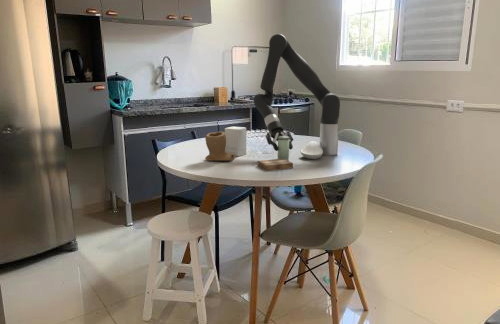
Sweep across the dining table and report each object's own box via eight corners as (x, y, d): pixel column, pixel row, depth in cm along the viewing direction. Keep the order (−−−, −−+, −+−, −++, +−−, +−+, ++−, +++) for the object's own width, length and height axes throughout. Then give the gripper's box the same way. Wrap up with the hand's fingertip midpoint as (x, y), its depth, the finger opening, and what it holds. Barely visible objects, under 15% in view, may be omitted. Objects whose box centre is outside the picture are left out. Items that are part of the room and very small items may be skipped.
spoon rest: (322, 161, 195) (322, 147, 194) (299, 160, 198) (299, 146, 196) (323, 151, 218) (324, 139, 216) (303, 151, 220) (303, 138, 219)
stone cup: (202, 163, 190) (201, 133, 186) (207, 157, 201) (207, 129, 198) (232, 164, 188) (232, 134, 185) (236, 158, 200) (235, 130, 196)
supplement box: (247, 153, 211) (247, 127, 208) (238, 156, 204) (238, 129, 200) (233, 152, 216) (233, 125, 212) (224, 155, 208) (224, 128, 205)
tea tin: (285, 158, 200) (286, 135, 197) (290, 160, 195) (291, 137, 192) (275, 159, 198) (275, 136, 195) (280, 161, 193) (281, 138, 190)
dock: (283, 163, 190) (283, 158, 189) (292, 167, 181) (293, 162, 181) (257, 165, 185) (257, 160, 184) (266, 170, 176) (266, 165, 175)
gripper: (264, 120, 195) (275, 146, 188) (287, 119, 202) (299, 144, 195) (259, 129, 201) (269, 154, 194) (281, 127, 208) (292, 152, 200)
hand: (284, 149), depth 194 cm, fingers open, 8 cm apart
